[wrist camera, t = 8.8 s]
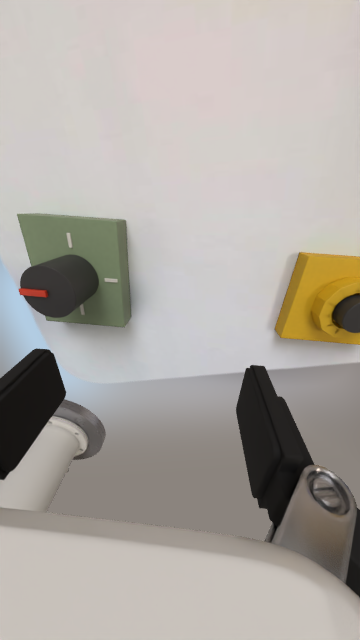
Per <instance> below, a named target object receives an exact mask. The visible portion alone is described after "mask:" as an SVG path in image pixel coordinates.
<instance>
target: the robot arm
mask: <svg viewBox="0 0 360 640" xmlns="http://www.w3.org/2000/svg"><path fill="white" fill-rule="evenodd" d="M65 395H66V391H65V388H64V384H63V381H62V378H61V375H60V372H59V369H58V366H57V363H56V360H55V357H54V354H53V353H51V351H50V350H47V349H34V350H33V351H32V352H30V353H29V354H28V355H27V356H26V357H25V358H23V359H22V360H21V361H20V362H19V363H18V364H17V365H15V366H14V367H13V368H12V369H11V370H10V371H8V372H7V373H6V374H5V375H4V376H3V377H2V378H0V640H360V510H359V509H358V508H357V505H356V502H355V499H354V496H353V494H352V493H351V491H350V489H349V488H348V486H347V485H346V484H345V483H344V482H343V481H342V479H341V478H340V477H338V476H337V475H336V474H335V473H333V472H332V471H330V470H328V469H327V468H325V467H322V466H318V465H314V463H313V461H312V459H311V456H310V454H309V452H308V450H307V448H306V445H305V443H304V441H303V439H302V437H301V434H300V432H299V430H298V428H297V426H296V423H295V421H294V419H293V417H292V415H291V413H290V411H289V408H288V406H287V404H286V402H285V400H284V399H283V398H282V397H278V396H277V394H276V392H275V390H274V387H273V385H272V383H271V380H270V378H269V376H268V373H267V371H266V369H265V367H264V366H256V365H251V366H250V368H246V371H245V375H244V379H243V383H242V387H241V391H240V395H239V399H238V403H237V407H236V413H237V419H238V424H239V429H240V434H241V440H242V445H243V450H244V455H245V461H246V465H247V470H248V476H249V481H250V486H251V491H252V495H253V497H254V498H257V499H258V505H259V508H265V509H267V510H268V514H269V518H270V520H271V521H272V525H271V527H270V529H269V532H268V534H267V536H266V539H265V541H260V540H255V539H250V538H246V537H241V536H234V535H226V534H220V533H212V532H205V531H198V530H191V529H183V528H175V527H166V526H158V525H150V524H141V523H133V522H125V521H116V520H108V519H99V518H90V517H82V516H73V515H65V514H55V513H47V510H48V508H49V506H50V504H51V502H52V500H53V498H54V496H55V494H56V492H57V490H58V488H59V486H60V484H61V482H62V480H63V478H64V476H65V474H66V473H67V472H68V471H69V466H70V464H71V462H72V460H73V458H74V456H78V455H80V454H82V453H83V452H84V451H85V450H86V448H87V446H88V442H89V440H88V436H87V435H86V433H85V432H84V430H83V429H82V428H81V427H79V426H78V425H77V424H75V423H73V422H71V421H69V420H67V419H64V418H61V417H57V416H52V415H53V414H54V413H55V411H56V410H57V408H58V407H59V405H60V404H61V403H62V401H63V400H64V398H65Z"/></svg>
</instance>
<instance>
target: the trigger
mask: <svg viewBox="0 0 360 640" xmlns="http://www.w3.org/2000/svg"><path fill="white" fill-rule="evenodd" d="M333 319H334V321H335V322H336V323H337V324H339V325H340V326H341V327H342V328H344V329H345V330H346V331H348V332H351V333H360V295H353V296H349V297H347V298H345V299H343V300H342V301H340V302H339V303H338V304H337V305H336V307H335V309H334V311H333Z"/></svg>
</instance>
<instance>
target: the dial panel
mask: <svg viewBox="0 0 360 640" xmlns="http://www.w3.org/2000/svg"><path fill="white" fill-rule="evenodd" d="M17 216H18V220H19V223H20V227H21V230H22V234H23V238H24V241H25V245H26V248H27V252H28V256H29V259H30V263H31V266H35V265H38V264H41V263H44V262H46V261H49V260H52V259H55V258H58V257H61V256H64V255H69V254H72V255H77V256H80V257H82V258H84V259H86V260H87V261H88V262H89V263H90V264H91V265H92V266H93V267H94V269H95V270H96V272H97V275H98V279H99V285H98V289H97V291H96V292H95V294H93V295H92V296H91V297H90V298H89V299H87V300H86V301H85V302H84V303H83V304H81V305H80V306H79V307H78V308H77V309H75V310H74V311H73V312H72V313H70V314H69V315H67V316H65V317H61V318H53V317H48V316H45V317H46V320H47V321H58V322H70V323H81V324H92V325H104V326H115V327H125V326H126V324H127V322H128V321H129V319H130V317H131V306H130V289H129V271H128V254H127V236H126V220H120V219H107V218H93V217H79V216H65V215H51V214H38V213H36V214H17Z"/></svg>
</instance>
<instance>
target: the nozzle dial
mask: <svg viewBox="0 0 360 640" xmlns="http://www.w3.org/2000/svg"><path fill="white" fill-rule="evenodd" d="M98 285H99V279H98V275H97V272H96V270H95V269H94V267H93V266H92V265H91V264H90V263H89V262H88V261H87V260H86V259H84V258H82V257H80V256H77V255H72V254H69V255H64V256H61V257H58V258H55V259H52V260H49V261H46V262H44V263H41V264H38V265H35V266H32V267H30V268H28V269H27V270H25V272H24V273H23V274H22V277H21V281H20V286H21V288H20V289H19V292H20V295H23V296H24V298H25V299H26V301H27V302H28V303H29V304H30V305H31V307H33V308H34V309H35V310H36V311H38V312H39V313H41V314H43V315H45V316H48V317H53V318H61V317H65V316H67V315H69V314H70V313H72V312H73V311H74V310H75V309H77V308H78V307H79V306H80V305H81V304H83V303H84V302H85V301H86V300H87V299H89V298H90V297H91V296H92V295H93V294H95V292H96V291H97V289H98Z"/></svg>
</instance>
